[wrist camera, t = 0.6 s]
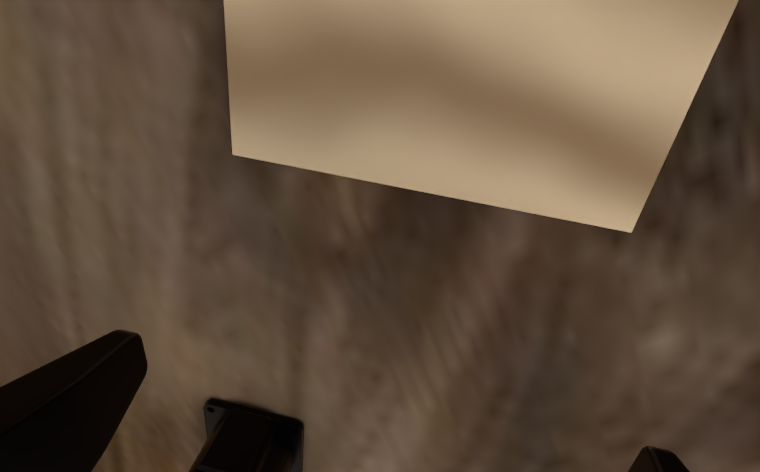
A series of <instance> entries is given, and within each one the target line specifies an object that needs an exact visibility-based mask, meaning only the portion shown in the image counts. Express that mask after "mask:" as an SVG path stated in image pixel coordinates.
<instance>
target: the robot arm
mask: <svg viewBox="0 0 760 472" xmlns="http://www.w3.org/2000/svg"><path fill="white" fill-rule="evenodd" d="M146 372H147V359H146V355H145V351H144V346H143V342H142V338H141V336H140V335H139V334H137V333H134V332H130V331H125V330H115V331H113V332H110V333H108V334H106V335H104V336H102V337H100V338H98V339H96V340H94V341H92V342H90V343H88V344H86V345H84V346H82V347H80V348H78V349H76V350H74V351H72V352H70V353H68V354H66V355H64V356H62V357H60V358H58V359H56V360H54V361H52V362H50V363H48V364H46V365H44V366H42V367H40V368H38V369H36V370H34V371H32V372H30V373H28V374H26V375H24V376H22V377H20V378H18V379H16V380H14V381H12V382H10V383H8V384H6V385H4V386H2V387H0V472H91V471H92V470H93V468H94V467H95V465H96V464H97V462H98V461H99V459H100V458H101V456H102V455H103V453H104V451H105V450H106V448H107V446H108V444H109V443H110V441H111V439H112V437H113V435H114V434H115V432H116V430H117V428H118V426H119V424H120V422H121V420H122V419H123V417H124V415H125V413H126V411H127V409H128V407H129V406H130V404H131V402H132V400H133V398H134V396H135V394H136V392H137V391H138V389H139V387H140V385H141V383H142V381H143V379H144V377H145V375H146ZM204 416H205V424H206V431H207V441H206V442H205V444H204V446H203V448H202V449H201V451H200V453H199V455H198V456H197V458H196V460H195V462H194V463H193V465H192V467H191V468H190V470H189V472H302V465H303V441H304V426H303V425H302V424H301V423H300V422H298V421H295V420H291V419H287V418H283V417H279V416H275V415H271V414H267V413H263V412H259V411H256V410H252V409H248V408H244V407H240V406H236V405H232V404H228V403H224V402H220V401H217V400H212V399H210V400H208V401H207V402H206V403H205V405H204ZM628 472H689V470H688V469H687V468H686V467H685V466H684V464H683V463H682V462H681V461H680V459H679V458H678V457H677V456H676V455H675V454H674V453H673V452H671V451H669V450H665V449H660V448H656V447H651V446H646V447H644V448H642V450H641V451H640V453H639V454H638V456H637V458H636V459H635V461H634V463H633V464H632V466H631V468H630V469H629V471H628Z"/></svg>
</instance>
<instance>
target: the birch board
mask: <svg viewBox="0 0 760 472" xmlns="http://www.w3.org/2000/svg"><path fill="white" fill-rule="evenodd" d="M737 3H738V0H224V16H225V33H226V51H227V69H228V86H229V104H230V121H231V139H232V155H237V156H242V157H247V158H252V159H257V160H262V161H267V162H273V163H278V164H283V165H288V166H293V167H298V168H303V169H308V170H313V171H319V172H324V173H329V174H334V175H339V176H344V177H349V178H354V179H359V180H364V181H370V182H375V183H380V184H385V185H390V186H395V187H400V188H405V189H410V190H416V191H421V192H426V193H431V194H436V195H441V196H446V197H451V198H456V199H461V200H467V201H472V202H477V203H482V204H487V205H492V206H497V207H502V208H507V209H513V210H518V211H523V212H528V213H533V214H538V215H543V216H548V217H553V218H559V219H564V220H569V221H574V222H579V223H584V224H589V225H594V226H599V227H604V228H610V229H615V230H620V231H625V232H630V233H632V230H633V228H634V226H635V224H636V222H637V220H638V217H639V215H640V213H641V211H642V209H643V207H644V204H645V202H646V200H647V198H648V196H649V194H650V191H651V189H652V187H653V185H654V183H655V181H656V178H657V176H658V174H659V172H660V170H661V167H662V165H663V163H664V161H665V159H666V157H667V154H668V152H669V150H670V148H671V146H672V144H673V141H674V139H675V137H676V135H677V133H678V131H679V128H680V126H681V124H682V122H683V120H684V118H685V115H686V113H687V111H688V109H689V107H690V105H691V102H692V100H693V98H694V96H695V94H696V92H697V89H698V87H699V85H700V83H701V81H702V79H703V76H704V74H705V72H706V70H707V68H708V66H709V63H710V61H711V59H712V57H713V55H714V53H715V50H716V48H717V46H718V44H719V42H720V39H721V37H722V35H723V33H724V31H725V29H726V26H727V24H728V22H729V20H730V18H731V16H732V13H733V11H734V9H735V7H736V5H737Z"/></svg>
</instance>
